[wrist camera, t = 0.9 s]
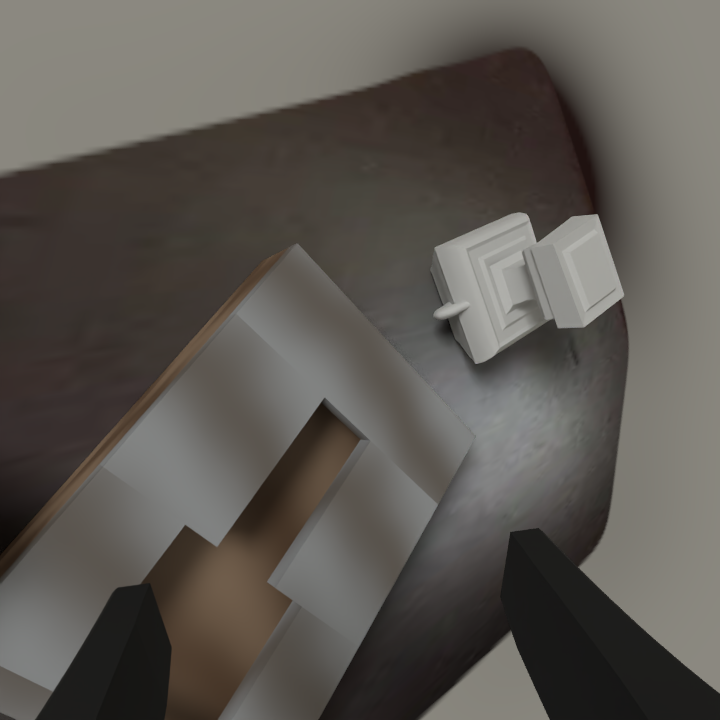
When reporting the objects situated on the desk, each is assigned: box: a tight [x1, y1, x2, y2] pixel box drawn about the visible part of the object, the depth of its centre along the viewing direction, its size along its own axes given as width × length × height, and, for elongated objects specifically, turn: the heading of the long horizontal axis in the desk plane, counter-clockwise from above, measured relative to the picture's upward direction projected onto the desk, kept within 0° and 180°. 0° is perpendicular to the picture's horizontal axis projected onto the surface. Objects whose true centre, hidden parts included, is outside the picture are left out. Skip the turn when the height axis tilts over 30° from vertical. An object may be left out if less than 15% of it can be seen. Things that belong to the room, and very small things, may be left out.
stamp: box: [430, 213, 624, 364], centre depth 28 cm, size 9×7×8 cm
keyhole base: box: [0, 243, 476, 720], centre depth 22 cm, size 18×13×4 cm
